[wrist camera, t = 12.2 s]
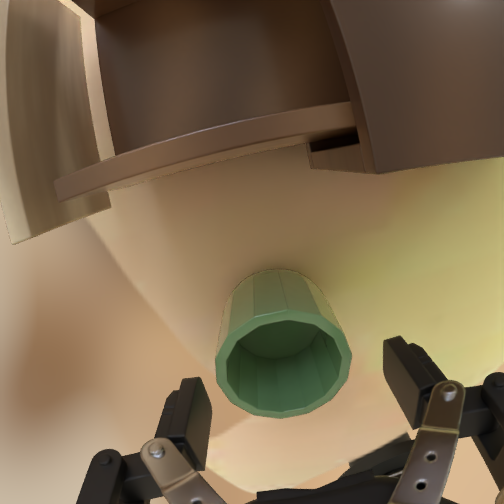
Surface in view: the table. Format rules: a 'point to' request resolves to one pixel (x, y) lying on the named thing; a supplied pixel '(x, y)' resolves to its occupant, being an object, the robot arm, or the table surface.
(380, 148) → the cabinet
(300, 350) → the pot
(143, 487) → the robot arm
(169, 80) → the drawer
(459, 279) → the table surface
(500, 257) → the table surface
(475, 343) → the table surface
